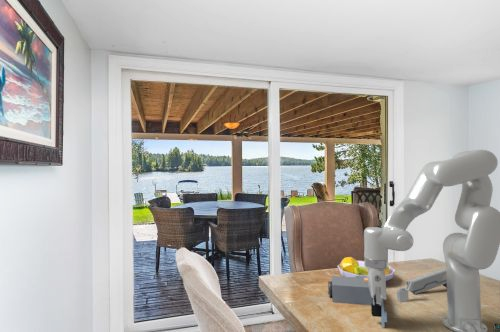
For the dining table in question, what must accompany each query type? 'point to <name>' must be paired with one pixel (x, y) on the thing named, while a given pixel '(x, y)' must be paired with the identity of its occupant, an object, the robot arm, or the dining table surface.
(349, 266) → the fruit bowl
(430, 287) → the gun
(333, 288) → the grey block
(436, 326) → the dining table surface
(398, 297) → the pale grey angled bracket
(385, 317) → the side door
